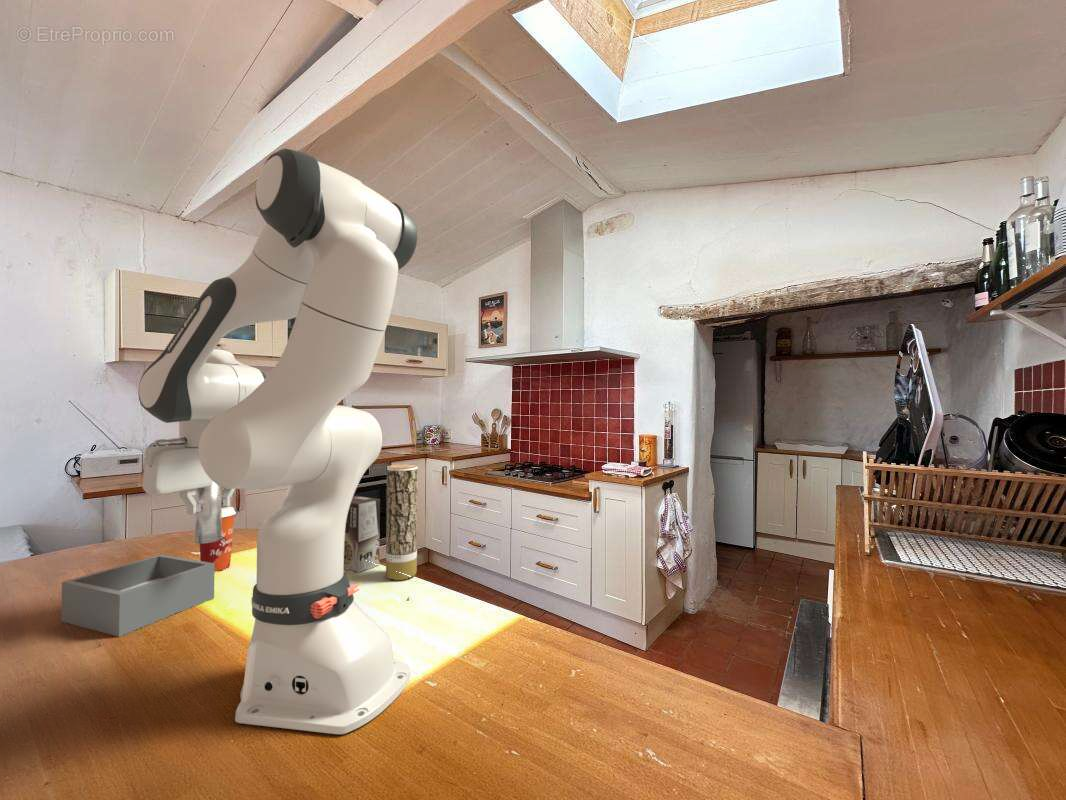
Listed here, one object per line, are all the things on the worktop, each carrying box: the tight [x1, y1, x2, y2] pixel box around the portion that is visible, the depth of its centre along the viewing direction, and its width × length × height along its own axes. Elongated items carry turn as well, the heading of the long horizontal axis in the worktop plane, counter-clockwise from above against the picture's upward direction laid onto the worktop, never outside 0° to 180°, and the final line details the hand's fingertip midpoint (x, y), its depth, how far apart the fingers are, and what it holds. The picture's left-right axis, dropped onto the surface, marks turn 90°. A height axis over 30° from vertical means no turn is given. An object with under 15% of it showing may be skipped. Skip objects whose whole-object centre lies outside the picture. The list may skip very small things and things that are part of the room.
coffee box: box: [344, 495, 381, 573], centre depth 110 cm, size 9×6×16 cm
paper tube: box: [385, 463, 419, 581], centre depth 103 cm, size 7×7×25 cm
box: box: [60, 554, 215, 638], centre depth 86 cm, size 16×16×7 cm
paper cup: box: [199, 505, 237, 573], centre depth 107 cm, size 8×8×14 cm
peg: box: [194, 482, 223, 545], centre depth 84 cm, size 4×4×12 cm
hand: (208, 510), depth 84 cm, fingers closed on peg, 4 cm apart
